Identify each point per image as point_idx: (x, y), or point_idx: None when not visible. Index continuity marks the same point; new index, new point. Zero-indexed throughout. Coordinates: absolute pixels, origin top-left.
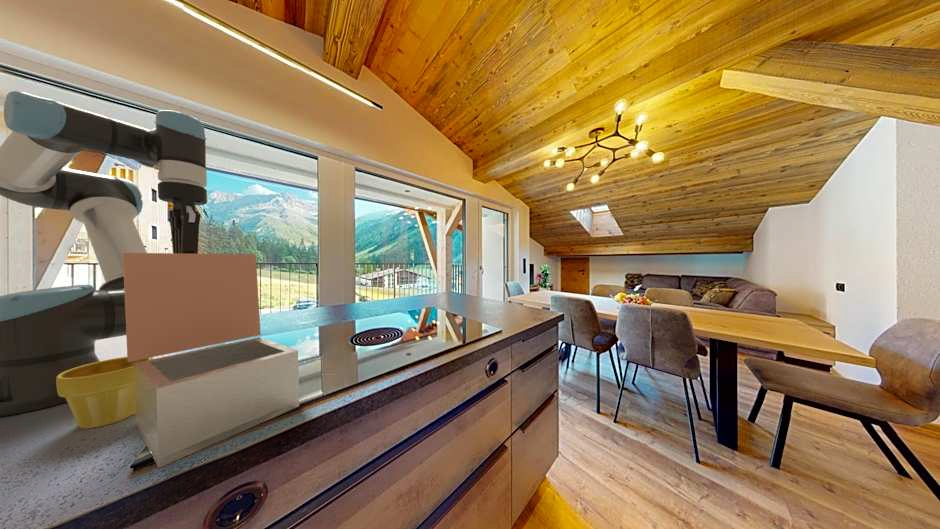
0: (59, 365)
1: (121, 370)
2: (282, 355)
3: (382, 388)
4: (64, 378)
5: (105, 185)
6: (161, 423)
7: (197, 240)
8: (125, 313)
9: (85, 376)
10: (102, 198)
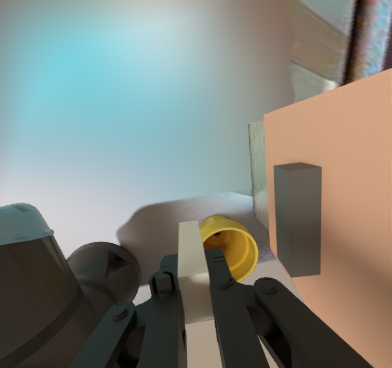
0: (118, 292)
1: (257, 246)
2: None
3: (388, 26)
4: (243, 279)
5: None
6: None
7: (360, 361)
8: (297, 289)
9: (254, 267)
10: None
